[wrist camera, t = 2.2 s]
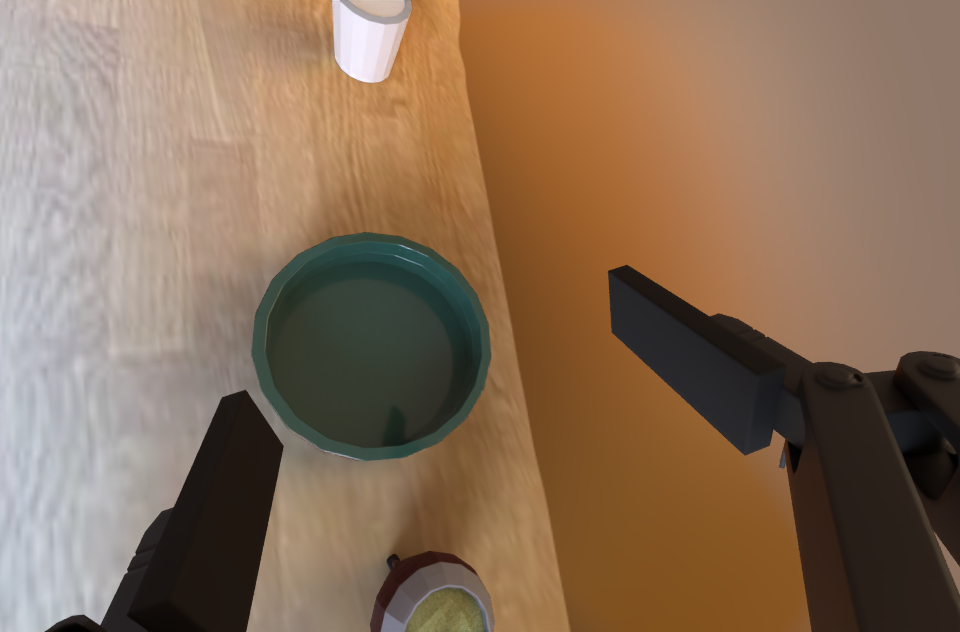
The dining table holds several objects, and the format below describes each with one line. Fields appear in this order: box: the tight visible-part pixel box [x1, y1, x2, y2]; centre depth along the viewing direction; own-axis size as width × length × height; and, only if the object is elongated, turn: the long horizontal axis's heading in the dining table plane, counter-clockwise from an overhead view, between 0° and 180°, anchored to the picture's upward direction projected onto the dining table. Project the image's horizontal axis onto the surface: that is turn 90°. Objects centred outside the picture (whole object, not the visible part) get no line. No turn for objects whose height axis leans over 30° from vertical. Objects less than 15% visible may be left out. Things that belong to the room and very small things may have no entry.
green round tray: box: [252, 232, 491, 461], centre depth 32 cm, size 17×17×4 cm
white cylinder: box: [332, 0, 412, 83], centre depth 39 cm, size 7×7×7 cm
